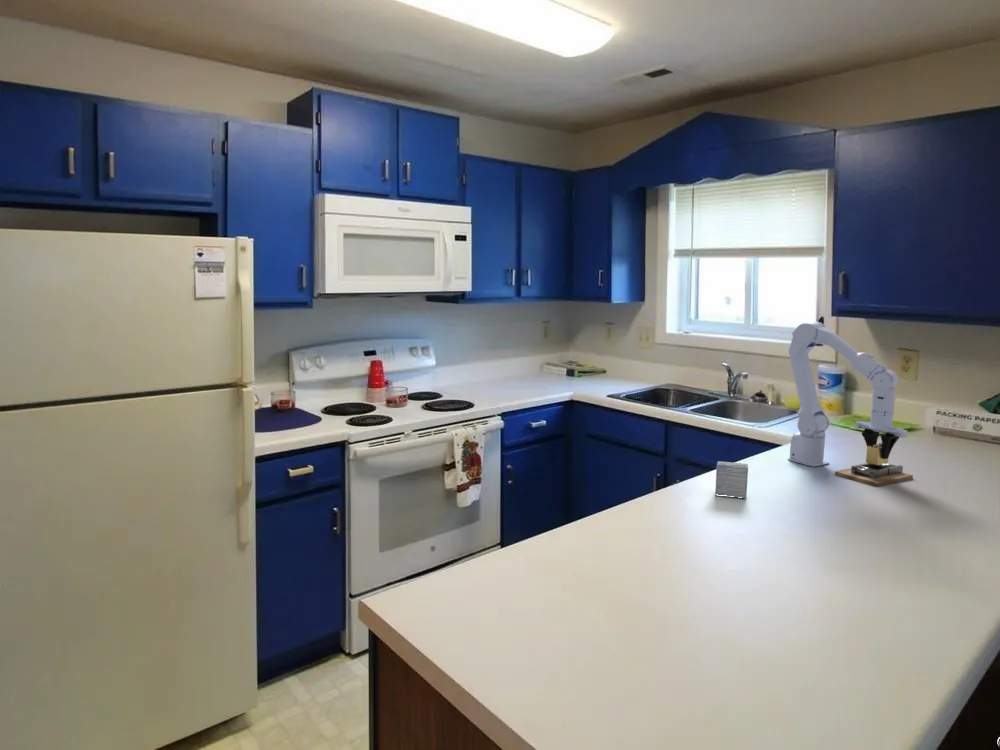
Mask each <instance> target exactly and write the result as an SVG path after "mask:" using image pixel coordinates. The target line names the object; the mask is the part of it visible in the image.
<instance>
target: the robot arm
mask: <svg viewBox="0 0 1000 750" xmlns="http://www.w3.org/2000/svg"><path fill="white" fill-rule="evenodd" d="M791 335H792V339H791V342H790V345H789V349H788V355H789V359H790V364H791V369H792V372H793V373H792V374H793V378H794V382H795V386H796V392H797V396H798V401H799V405H800V407H799V410H798V413H797V414H798V420H797V421H798V422H797V429H798V432H795V433H794V434H792V436H791V439H790V449H789V457H788V458H787V460H788V461H792V462H794V463H799V464H802V465H804V466H808V467H809V466H810V467H812V468H815V467H819V466H825V465H829V464H830V462H829V461H825V460H824V458H825V457H824V455H825V444H826V433H825V432H826V431H827V429H828V428H829V426H830V419H829V417H828V416H827V415H826V413H825V411H824V407H823V406H822V405H821V404H820V401H819V398H818V395H817V389H816V384H815V379H814V376H813V371H812V366H811V363H810V361H811V360H810V358H809V357H810V356H809V354H810V352H811V351H812V350H813V348H815V346H816V345H825V346H828V347H830V349H833V350H834V351H835V352H837V353H839V354H840V355H841V356H843V357H844V359H845V358H846V359H847V360H848V361H849V363H850V367H851V369H853V370H855V372H857V373H858V374H860V375H861V376H862V377H863V378H864V379H866V380H867V381H869V382H870V385H871V387H872V388H873V389H872V399H871V409H870V420H869V421H870V422H868V421H867V422H866V421H862V420H860V421H855V428H856V429H861V430H863V431H861V435H862V437H863V439H864V441H865V444H866V447H867V446H869V445H873V444H878V438H879V435H880V433H881V434H882V435H880V439H881V443H882V459H887V458H888V459H889V456H890V454H891V452H892V449H893V448H894V446H895V444H896V443H897V441H898V440H899V439H900V438H902V439H905V438H908V434H909V433H908V432H909V430H905V429H902V428H898V427H895V426H893V423H894V412H895V411H894V410H895V403H896V401H895V400H896V387H897V386H898V385H899V383H900V377H899V374H898V373H897V372H896V371H895V369H891V368H888V366H887V365H886V364H881V363H880V362H878V361H877V360H876V359H875V358H874V355H873V354H872V353H867V352H866V351H865V352H864V351H863V352H859V351H857V350H856V349H855V348H854V347H852V346H851V345H850V344H849V343H848V342H847V341H846V340H844V338H842V337H840V336H839V335H838V334H837V333H836V332H835V331H833V329H832V328H830V327H828V326H826V325H825V324H824V323H822V322H820V321H814V322H804V323H803V322H802V323H800V324H799V325H798V326H797V327H796V328H795V329H794V330H793V332H792V334H791Z"/></svg>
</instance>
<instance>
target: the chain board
mask: <svg viewBox="0 0 1000 750" xmlns="http://www.w3.org/2000/svg"><path fill="white" fill-rule="evenodd" d="M851 468H852V467H850V468H845V469H840V470H836V471H834V475H835V476H837V477H841V478H844V479H848V480H853V481H857V482H859V483H862V484H867V485H869V486H873V487H881V486H884V485H890V484H895V483H899V482H903V481H907V480H908V481H909V480H911V479H912V480H913V478H914V475H913V474H910V473H905V472H902V473H898V474H893V475H888V476H884V477H880V478H875V479H872V478H870V477H868V476H864V475H861V474H857V473H851ZM875 470H879V469H875Z"/></svg>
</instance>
